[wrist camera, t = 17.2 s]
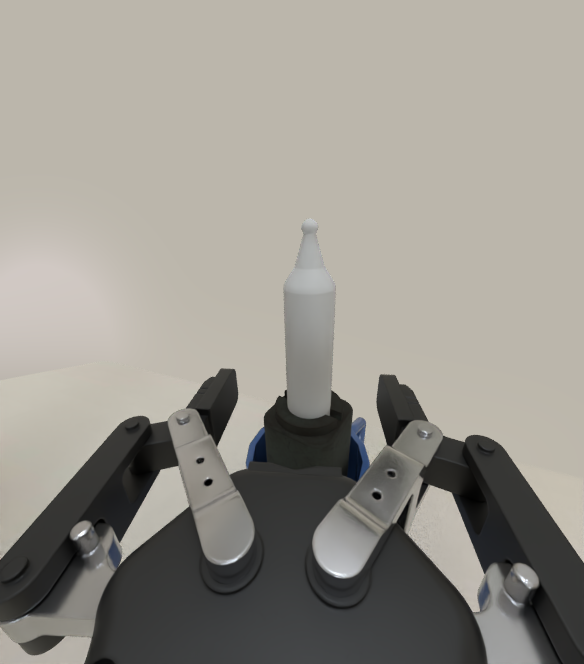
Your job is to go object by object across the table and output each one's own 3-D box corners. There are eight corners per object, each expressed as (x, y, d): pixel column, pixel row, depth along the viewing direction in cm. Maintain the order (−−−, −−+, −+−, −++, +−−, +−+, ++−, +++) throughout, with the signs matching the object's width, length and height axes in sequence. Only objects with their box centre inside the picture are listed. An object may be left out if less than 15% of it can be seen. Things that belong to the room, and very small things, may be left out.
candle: (299, 491, 27) (295, 218, 17) (347, 520, 24) (375, 216, 14) (267, 538, 23) (237, 220, 13) (320, 578, 20) (333, 219, 11)
